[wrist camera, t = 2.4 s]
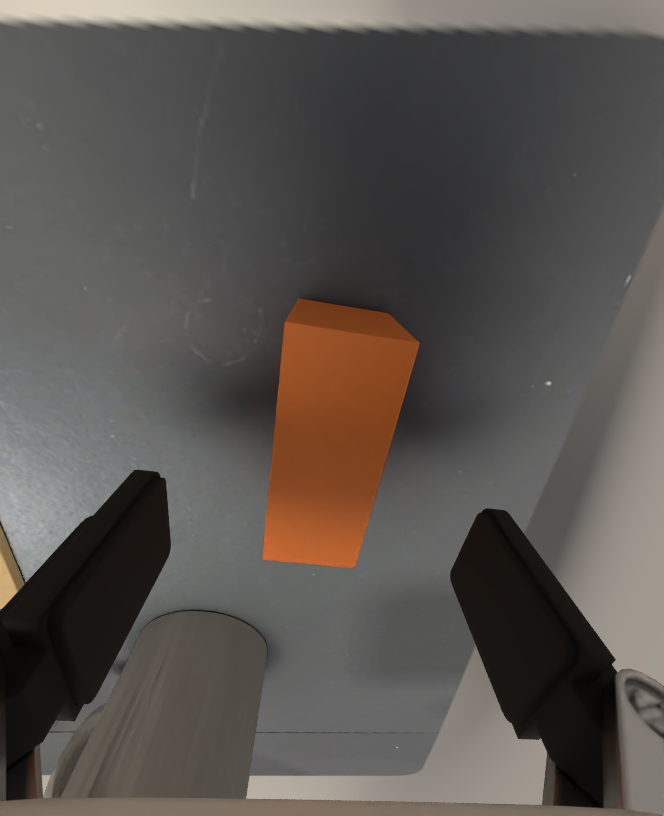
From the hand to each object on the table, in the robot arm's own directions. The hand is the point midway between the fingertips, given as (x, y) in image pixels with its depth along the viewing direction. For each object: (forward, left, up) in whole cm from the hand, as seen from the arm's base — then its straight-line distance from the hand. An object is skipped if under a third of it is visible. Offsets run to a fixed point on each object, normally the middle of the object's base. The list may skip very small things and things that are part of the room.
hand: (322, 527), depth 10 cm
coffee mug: (+23, -8, -7) cm, 25 cm away
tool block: (0, 0, -7) cm, 7 cm away
